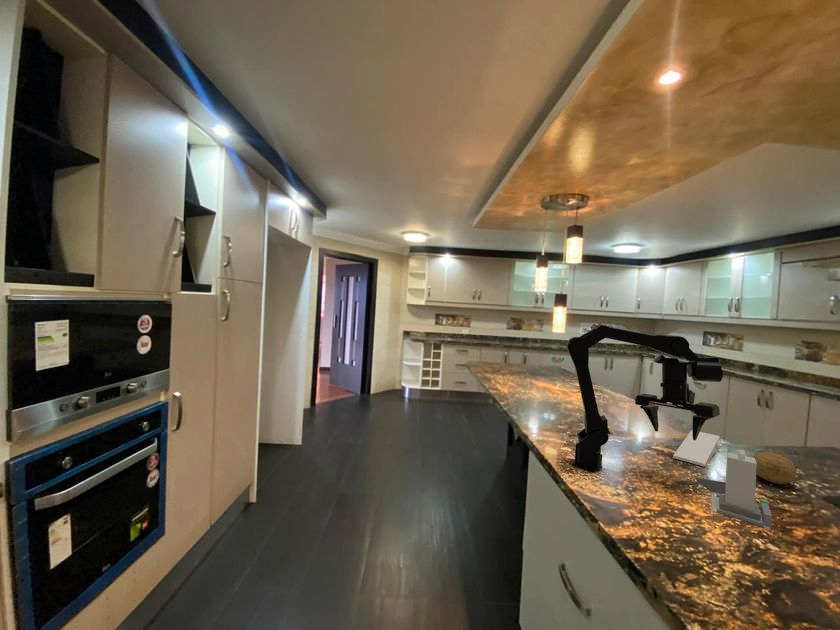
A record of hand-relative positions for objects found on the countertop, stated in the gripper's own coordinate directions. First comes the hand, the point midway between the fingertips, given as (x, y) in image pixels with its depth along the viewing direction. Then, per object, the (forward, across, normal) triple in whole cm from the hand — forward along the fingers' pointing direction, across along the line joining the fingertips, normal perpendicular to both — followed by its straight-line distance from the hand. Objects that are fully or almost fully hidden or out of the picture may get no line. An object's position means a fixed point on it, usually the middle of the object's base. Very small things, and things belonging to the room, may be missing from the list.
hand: (675, 435), depth 99 cm
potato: (+15, -14, -30) cm, 36 cm away
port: (+14, -14, +4) cm, 20 cm away
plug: (+13, -14, +4) cm, 20 cm away
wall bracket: (+15, +6, -35) cm, 38 cm away
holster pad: (+14, -8, -8) cm, 18 cm away
